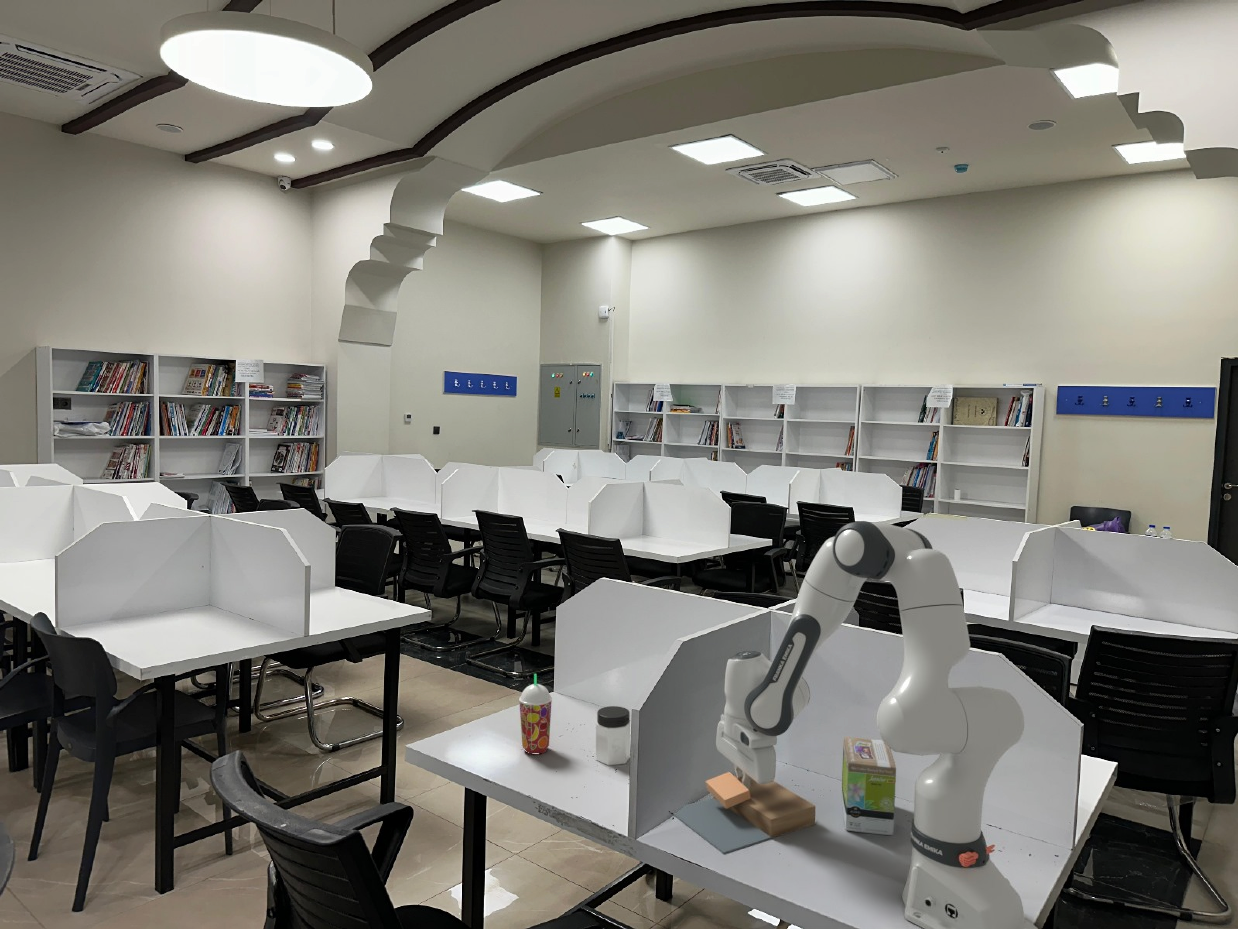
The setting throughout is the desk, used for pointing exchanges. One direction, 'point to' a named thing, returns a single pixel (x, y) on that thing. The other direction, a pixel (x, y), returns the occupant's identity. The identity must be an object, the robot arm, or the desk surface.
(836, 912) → the desk surface
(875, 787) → the tea box
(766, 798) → the board
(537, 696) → the smoothie
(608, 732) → the jar
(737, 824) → the mat
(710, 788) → the orange rectangular block
